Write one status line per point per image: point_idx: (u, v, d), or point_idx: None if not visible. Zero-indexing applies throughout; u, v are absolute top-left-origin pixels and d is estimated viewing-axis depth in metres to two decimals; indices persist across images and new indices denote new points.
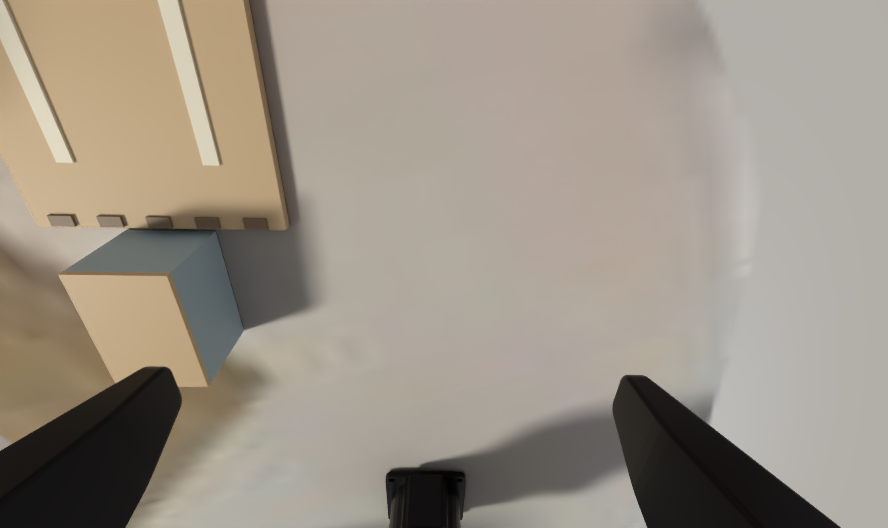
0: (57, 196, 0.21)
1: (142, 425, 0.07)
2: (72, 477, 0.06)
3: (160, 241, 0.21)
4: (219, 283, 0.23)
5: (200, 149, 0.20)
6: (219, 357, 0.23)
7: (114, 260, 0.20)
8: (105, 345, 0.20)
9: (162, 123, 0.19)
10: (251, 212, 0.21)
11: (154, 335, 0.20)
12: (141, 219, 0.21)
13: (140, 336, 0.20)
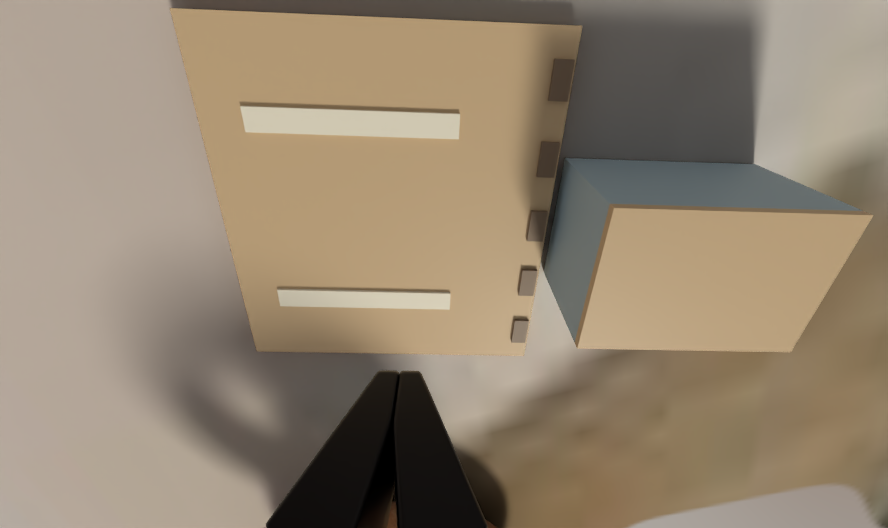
0: (490, 324, 0.18)
1: None
2: (379, 480, 0.06)
3: (563, 229, 0.15)
4: (654, 169, 0.14)
5: (435, 136, 0.14)
6: (805, 193, 0.12)
7: (575, 283, 0.13)
8: (709, 338, 0.13)
9: (401, 177, 0.14)
10: (540, 83, 0.13)
11: (720, 266, 0.12)
12: (530, 247, 0.16)
13: (713, 287, 0.12)
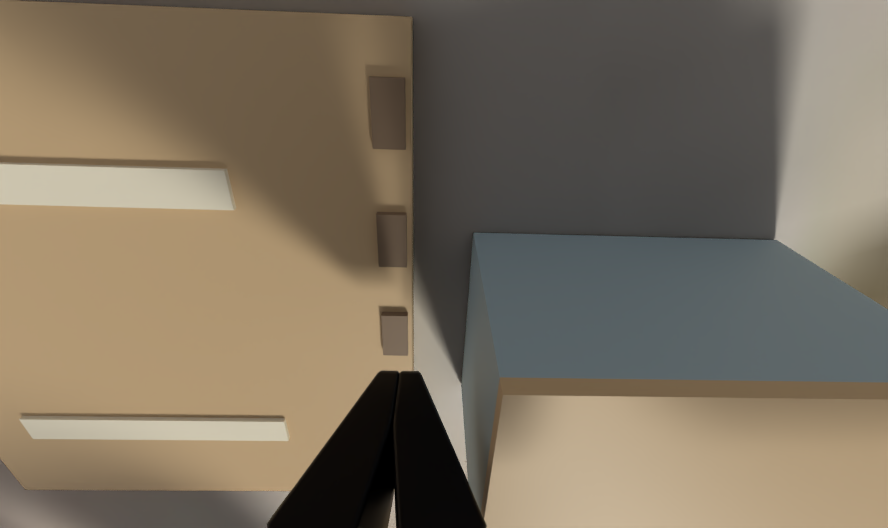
0: None
1: None
2: (380, 480, 0.06)
3: (470, 348, 0.09)
4: (612, 259, 0.08)
5: (193, 205, 0.08)
6: (876, 323, 0.07)
7: (475, 458, 0.08)
8: None
9: (159, 265, 0.09)
10: (355, 119, 0.07)
11: (722, 477, 0.06)
12: (392, 361, 0.10)
13: (710, 504, 0.06)
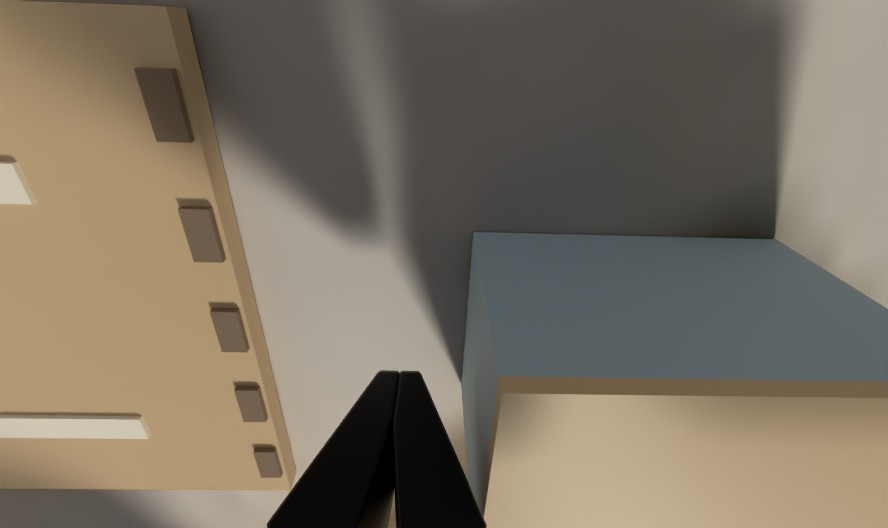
0: (222, 454, 0.12)
1: None
2: (380, 480, 0.06)
3: (470, 347, 0.09)
4: (611, 258, 0.08)
5: None
6: (876, 322, 0.07)
7: (475, 457, 0.08)
8: None
9: None
10: (135, 111, 0.07)
11: (722, 476, 0.06)
12: (235, 358, 0.10)
13: (709, 503, 0.06)
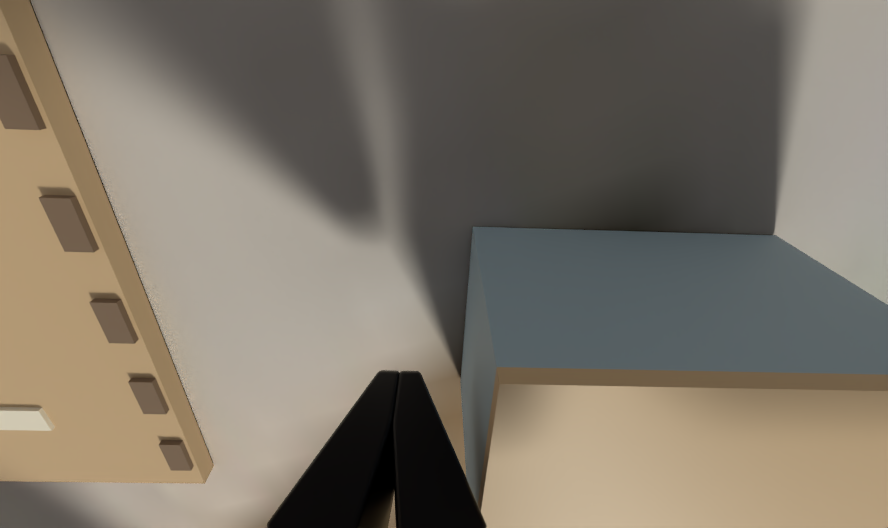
0: (130, 446, 0.12)
1: None
2: (380, 480, 0.06)
3: (469, 342, 0.09)
4: (610, 252, 0.08)
5: None
6: (874, 316, 0.07)
7: (473, 450, 0.08)
8: None
9: None
10: None
11: (718, 468, 0.06)
12: (126, 349, 0.10)
13: (706, 495, 0.06)
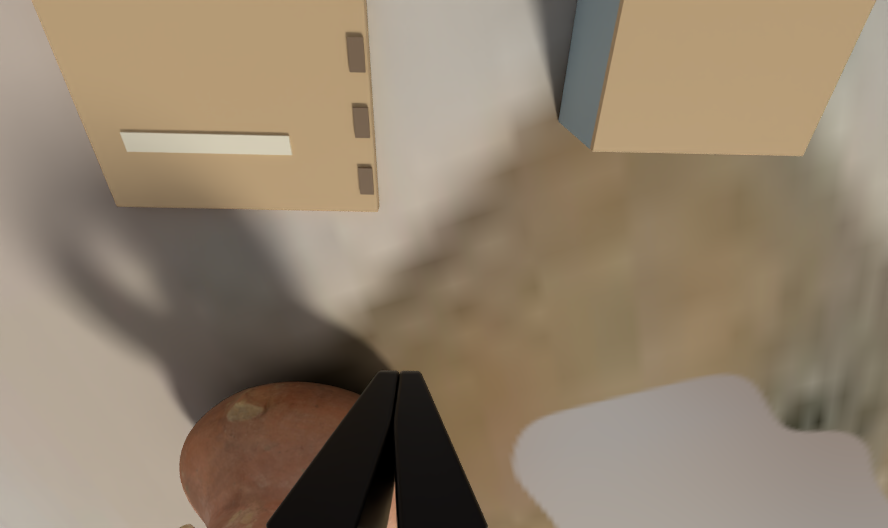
0: (336, 174, 0.18)
1: None
2: (379, 480, 0.06)
3: (578, 56, 0.15)
4: None
5: None
6: None
7: (590, 92, 0.14)
8: (722, 139, 0.13)
9: None
10: None
11: (733, 46, 0.12)
12: (356, 81, 0.16)
13: (726, 73, 0.12)
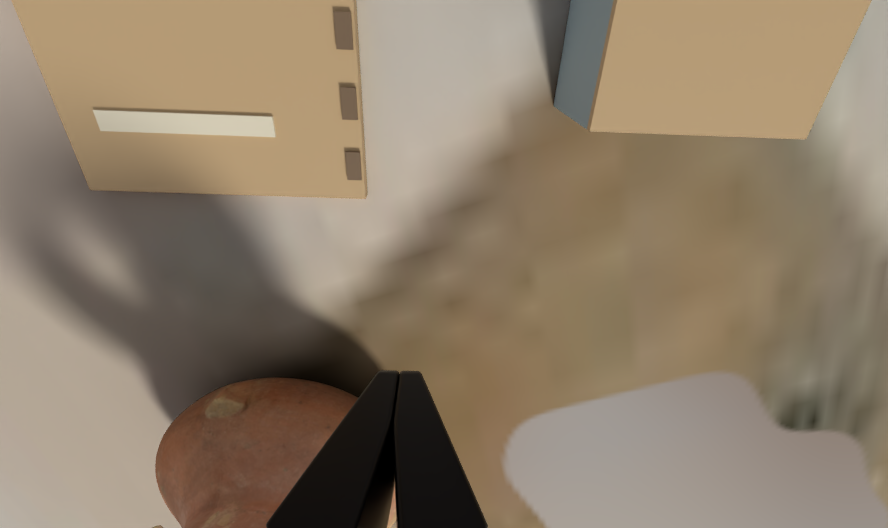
0: (322, 158, 0.17)
1: None
2: (379, 480, 0.06)
3: (575, 35, 0.15)
4: None
5: None
6: None
7: (587, 70, 0.13)
8: (724, 120, 0.13)
9: None
10: None
11: (736, 20, 0.11)
12: (343, 59, 0.15)
13: (729, 49, 0.12)
